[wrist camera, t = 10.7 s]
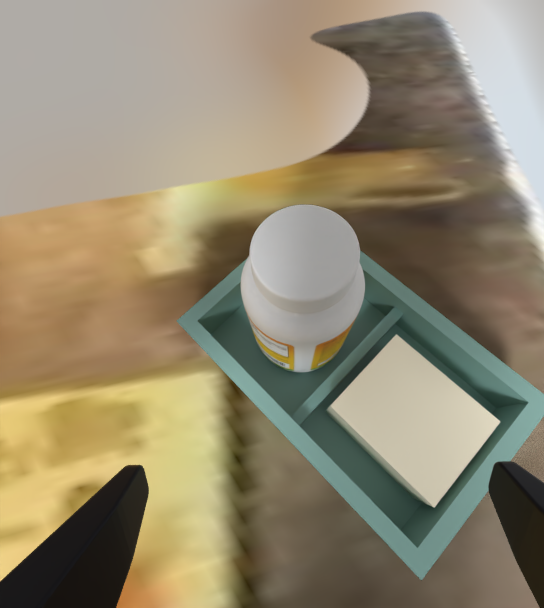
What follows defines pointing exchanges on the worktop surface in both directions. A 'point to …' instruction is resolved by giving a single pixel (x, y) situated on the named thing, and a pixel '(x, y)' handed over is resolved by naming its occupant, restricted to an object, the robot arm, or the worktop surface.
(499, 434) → the divided tray
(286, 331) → the supplement bottle
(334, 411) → the block
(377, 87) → the worktop surface
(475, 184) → the worktop surface
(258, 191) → the worktop surface
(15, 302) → the worktop surface
